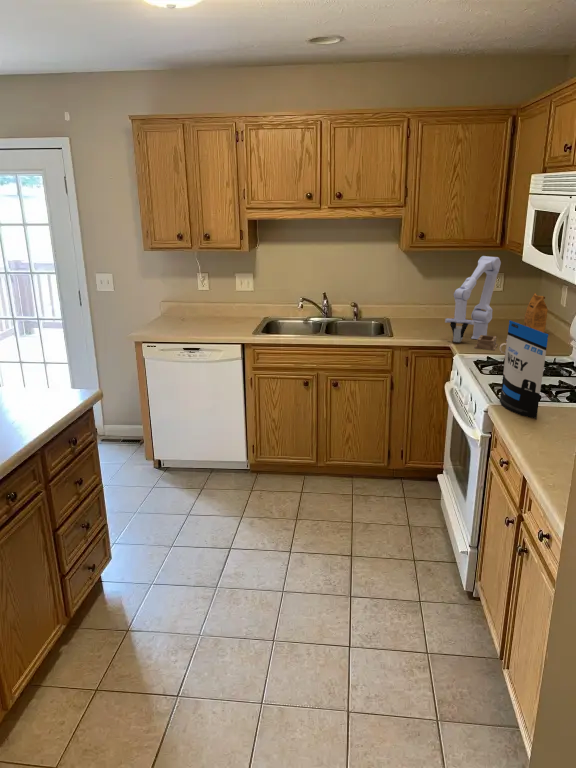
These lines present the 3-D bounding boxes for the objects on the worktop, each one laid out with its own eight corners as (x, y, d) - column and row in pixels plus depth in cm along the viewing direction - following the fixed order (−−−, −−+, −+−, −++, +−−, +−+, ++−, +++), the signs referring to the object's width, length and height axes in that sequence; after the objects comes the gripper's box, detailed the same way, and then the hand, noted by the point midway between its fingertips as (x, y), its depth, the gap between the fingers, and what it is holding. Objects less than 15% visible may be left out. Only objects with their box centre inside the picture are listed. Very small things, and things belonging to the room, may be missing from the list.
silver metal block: (455, 338, 311) (456, 325, 309) (462, 339, 310) (463, 326, 308) (453, 341, 305) (454, 328, 302) (459, 342, 303) (461, 329, 301)
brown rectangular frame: (478, 342, 307) (478, 334, 306) (497, 344, 303) (498, 336, 301) (474, 348, 296) (475, 339, 294) (494, 350, 292) (495, 341, 290)
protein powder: (511, 396, 222) (521, 319, 213) (548, 418, 200) (561, 333, 191) (488, 397, 221) (497, 320, 212) (523, 420, 198) (535, 334, 189)
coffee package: (537, 330, 337) (542, 292, 330) (546, 335, 325) (552, 296, 318) (520, 330, 337) (525, 292, 330) (528, 335, 325) (534, 296, 318)
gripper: (444, 311, 302) (442, 337, 306) (473, 313, 296) (471, 339, 300) (447, 309, 308) (445, 334, 312) (475, 311, 302) (473, 336, 306)
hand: (458, 336), depth 307 cm, fingers closed on silver metal block, 3 cm apart
